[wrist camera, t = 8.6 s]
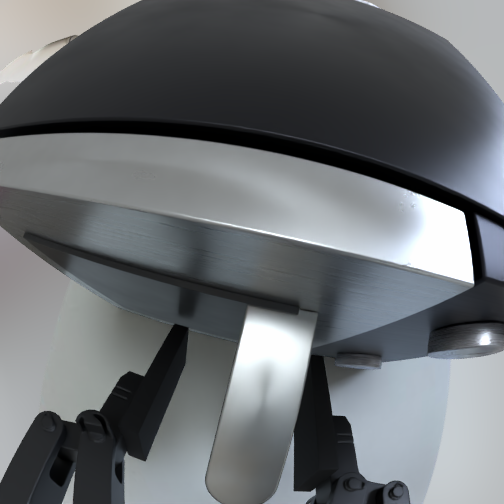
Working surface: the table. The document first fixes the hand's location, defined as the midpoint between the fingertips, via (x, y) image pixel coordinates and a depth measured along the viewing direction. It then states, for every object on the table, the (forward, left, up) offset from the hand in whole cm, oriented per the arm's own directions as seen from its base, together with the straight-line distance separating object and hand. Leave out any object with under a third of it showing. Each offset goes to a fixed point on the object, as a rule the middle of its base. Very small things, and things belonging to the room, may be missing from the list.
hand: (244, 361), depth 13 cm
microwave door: (+4, +1, -7) cm, 8 cm away
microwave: (0, -12, -7) cm, 14 cm away
